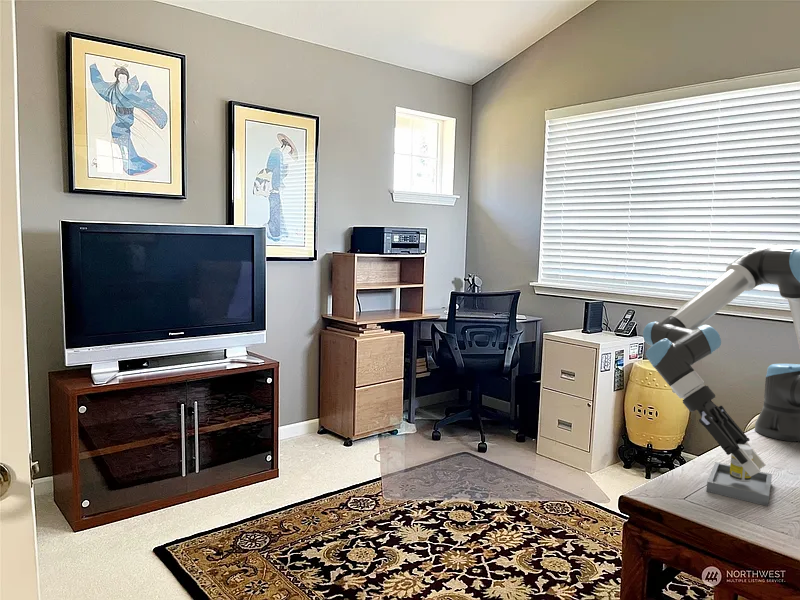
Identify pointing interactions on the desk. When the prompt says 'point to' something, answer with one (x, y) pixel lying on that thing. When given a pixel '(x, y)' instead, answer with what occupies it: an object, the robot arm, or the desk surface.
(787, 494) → the desk surface
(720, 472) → the tray
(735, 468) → the supplement bottle
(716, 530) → the desk surface
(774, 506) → the desk surface
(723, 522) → the desk surface
